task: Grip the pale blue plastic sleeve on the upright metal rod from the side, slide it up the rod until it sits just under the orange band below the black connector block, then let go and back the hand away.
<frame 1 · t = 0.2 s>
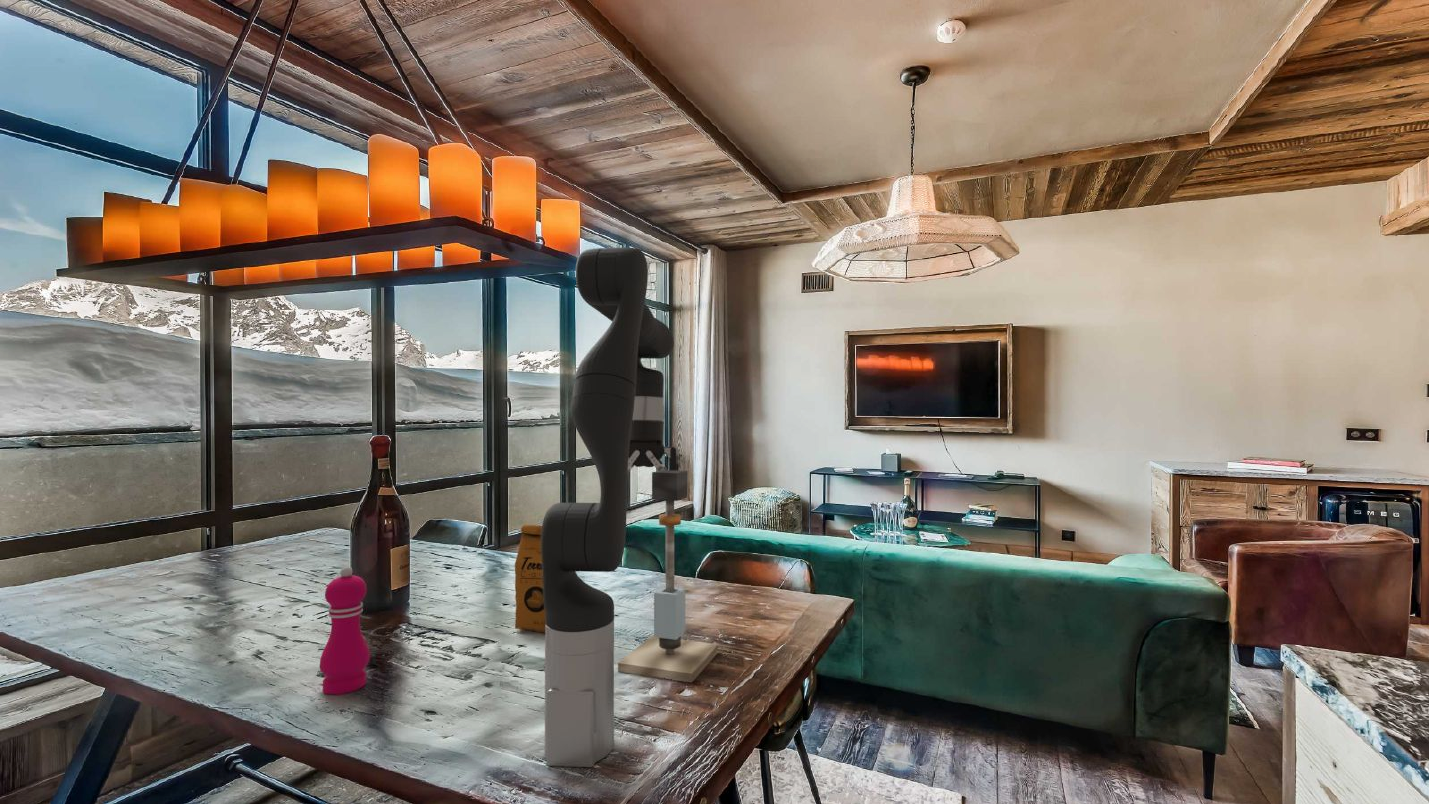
hand: (643, 496, 127), 29 cm above the table, tool pointing down, fingers open, 8 cm apart
coffee package: (546, 629, 130), on the table
rod stand: (669, 661, 112), on the table
sleeve: (669, 612, 112), point 9 cm above the table, slide at 0.0 cm
pepper mill: (344, 687, 102), on the table
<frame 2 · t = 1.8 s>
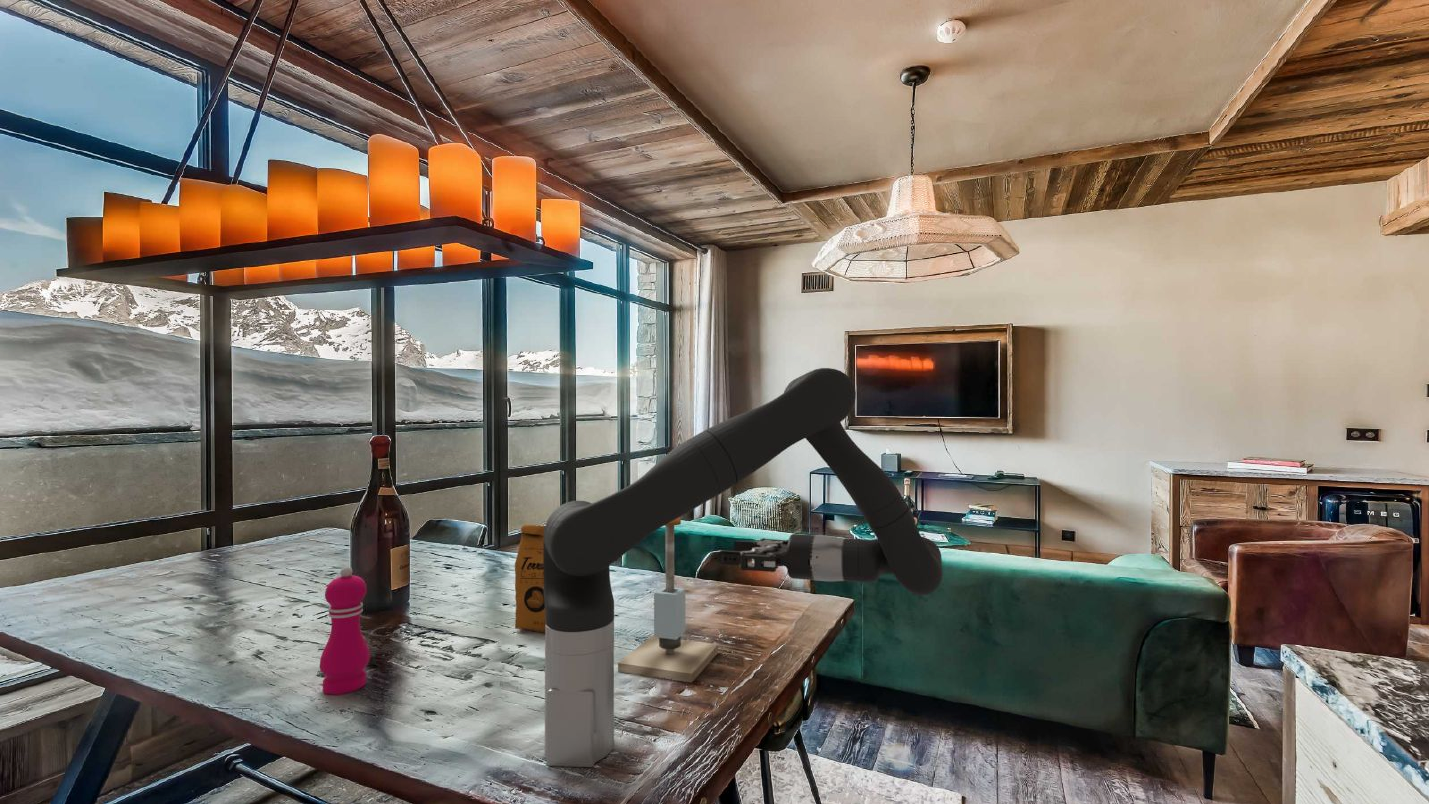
hand: (727, 551, 109), 21 cm above the table, tool horizontal, fingers open, 8 cm apart
nothing on the table moved.
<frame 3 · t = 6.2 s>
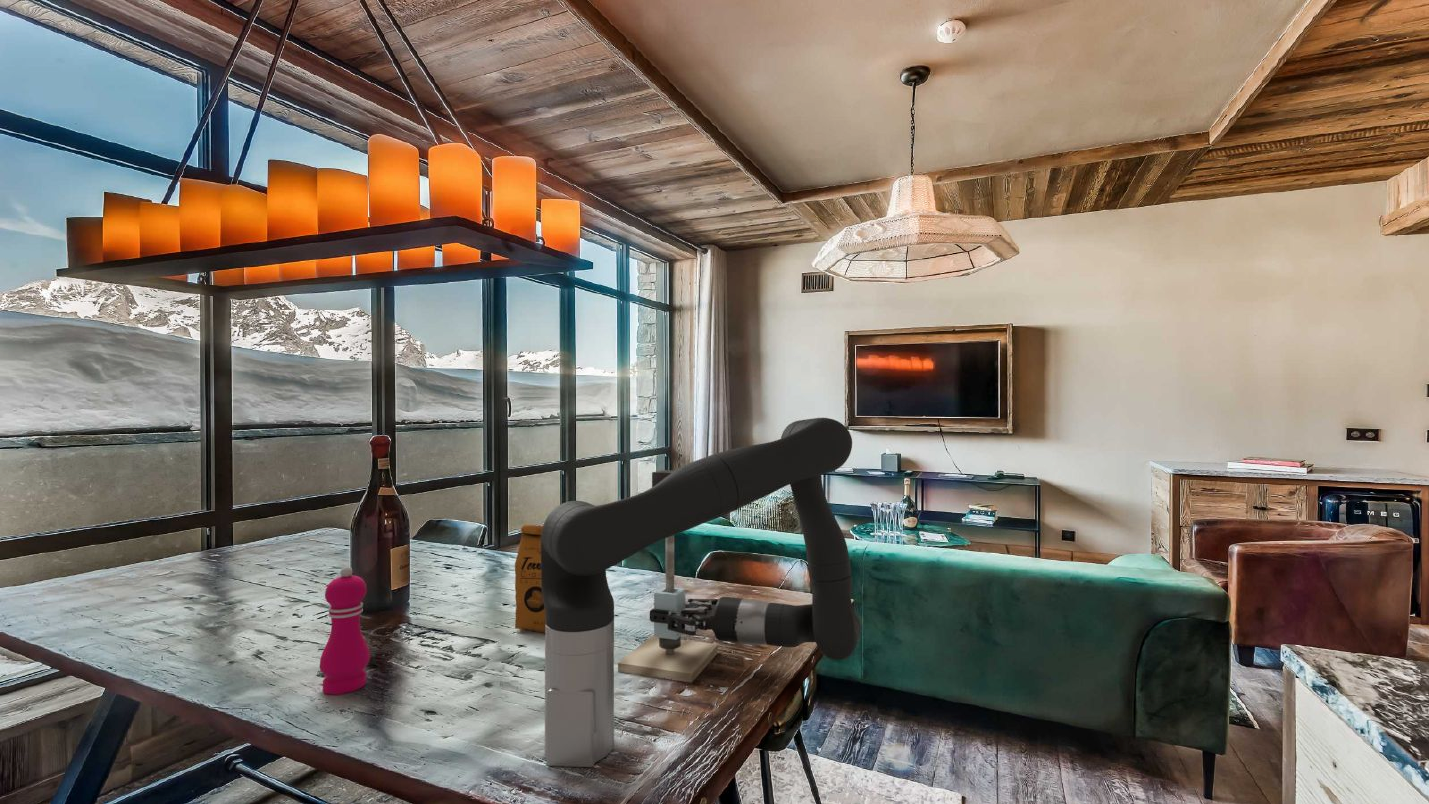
hand: (656, 611, 113), 9 cm above the table, tool horizontal, fingers closed on sleeve, 4 cm apart
sleeve: (669, 612, 112), point 9 cm above the table, slide at 0.0 cm, touching gripper
everything else where it was.
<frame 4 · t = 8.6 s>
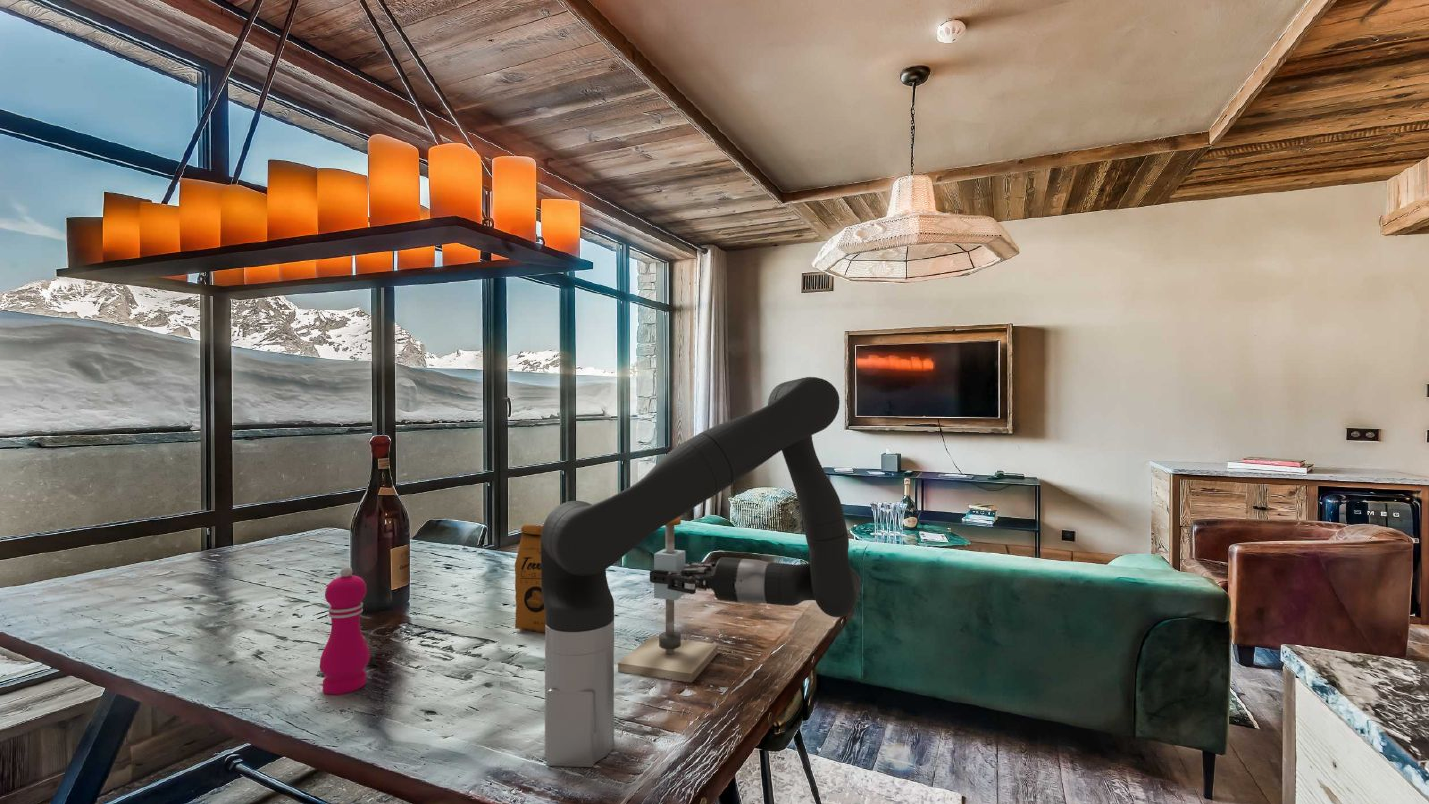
hand: (656, 572, 113), 16 cm above the table, tool horizontal, fingers closed on sleeve, 4 cm apart
sleeve: (669, 574, 112), point 16 cm above the table, slide at 7.1 cm, touching gripper
everything else where it was.
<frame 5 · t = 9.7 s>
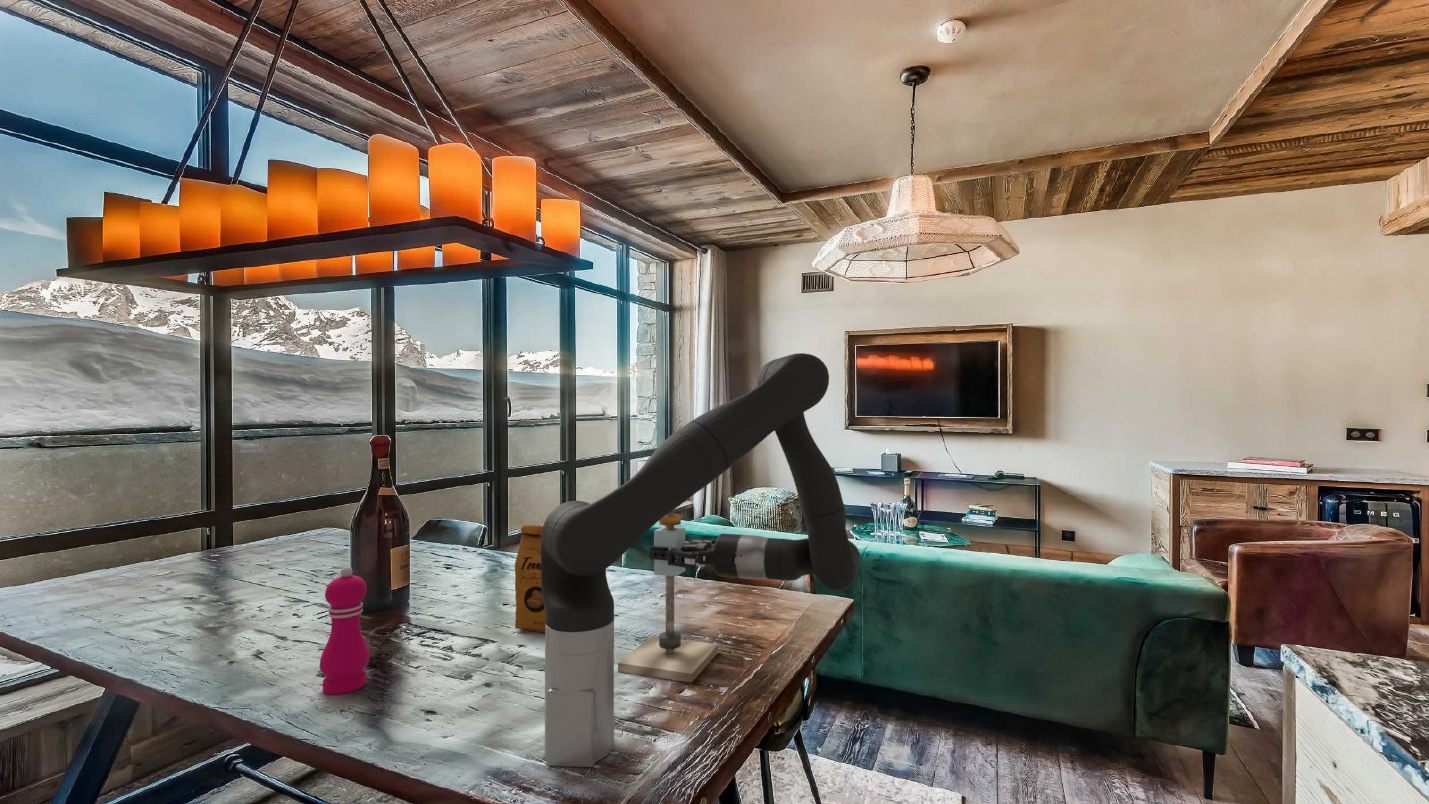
hand: (656, 549, 113), 20 cm above the table, tool horizontal, fingers closed on sleeve, 4 cm apart
sleeve: (669, 550, 112), point 20 cm above the table, slide at 11.3 cm, touching gripper
everything else where it was.
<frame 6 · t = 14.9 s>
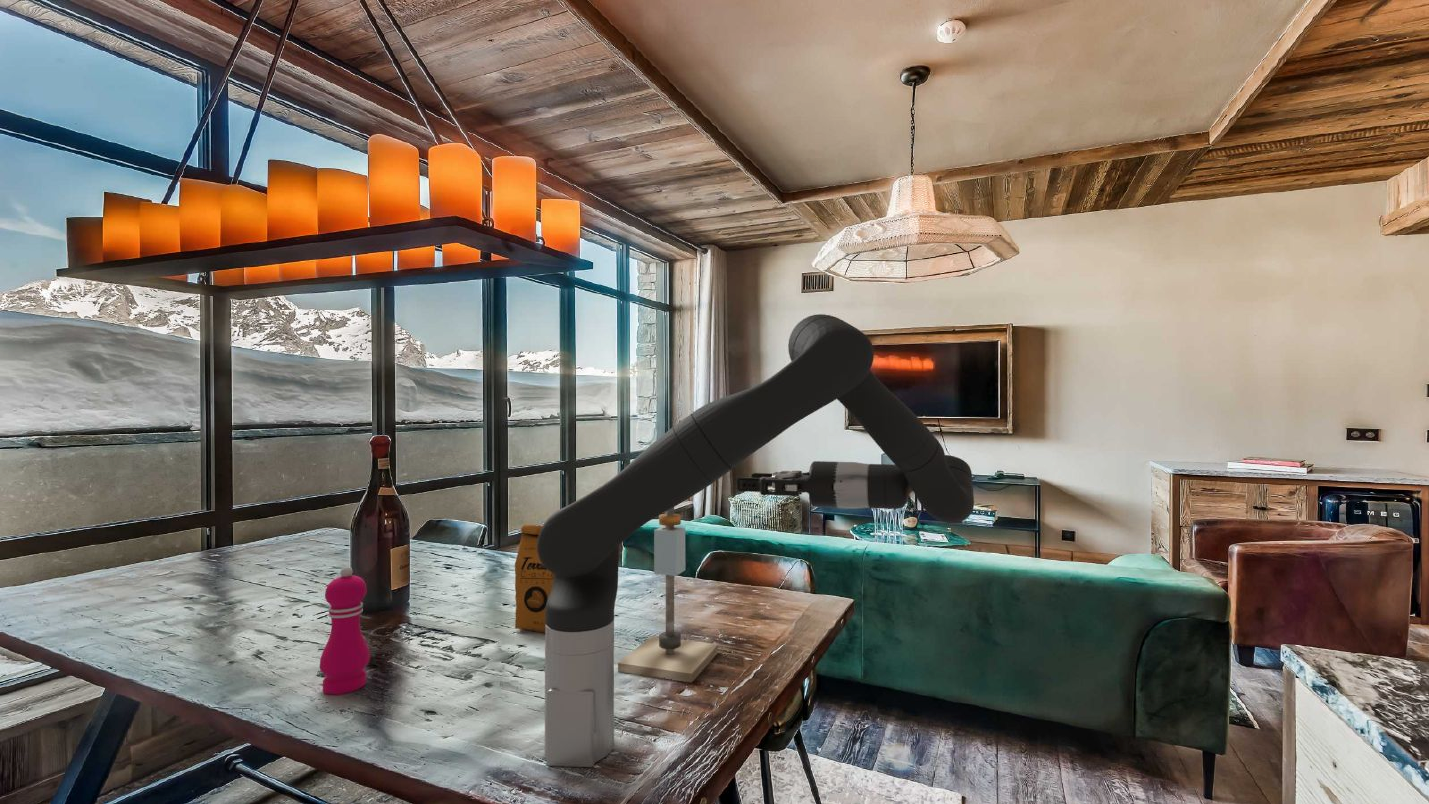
hand: (745, 481, 104), 34 cm above the table, tool horizontal, fingers open, 8 cm apart
sleeve: (669, 550, 112), point 20 cm above the table, slide at 11.5 cm
everything else where it was.
at the end: sleeve slide at 11.5 cm; the gripper is holding nothing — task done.
